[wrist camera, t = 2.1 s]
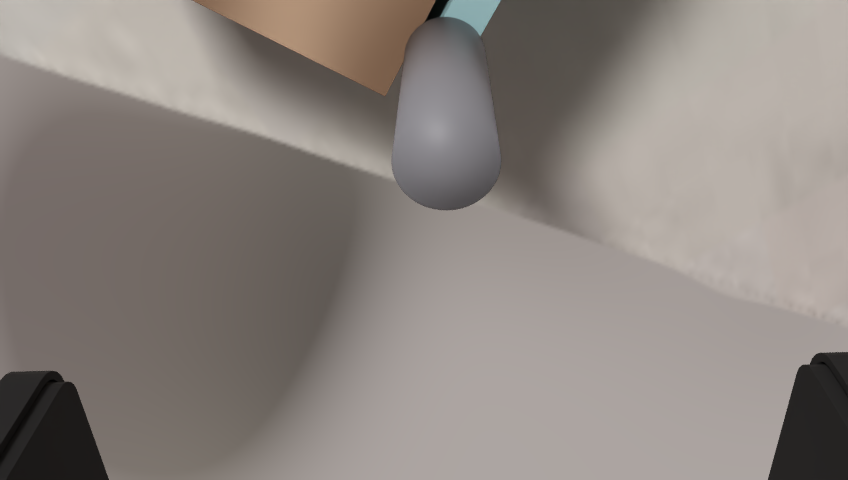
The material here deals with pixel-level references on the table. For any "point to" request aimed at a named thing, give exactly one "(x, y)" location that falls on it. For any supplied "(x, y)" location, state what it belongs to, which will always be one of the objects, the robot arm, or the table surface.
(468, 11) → the door
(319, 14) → the cabinet
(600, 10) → the table surface
